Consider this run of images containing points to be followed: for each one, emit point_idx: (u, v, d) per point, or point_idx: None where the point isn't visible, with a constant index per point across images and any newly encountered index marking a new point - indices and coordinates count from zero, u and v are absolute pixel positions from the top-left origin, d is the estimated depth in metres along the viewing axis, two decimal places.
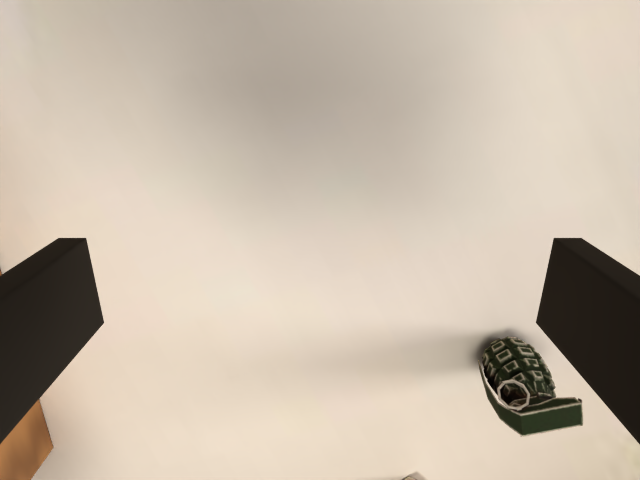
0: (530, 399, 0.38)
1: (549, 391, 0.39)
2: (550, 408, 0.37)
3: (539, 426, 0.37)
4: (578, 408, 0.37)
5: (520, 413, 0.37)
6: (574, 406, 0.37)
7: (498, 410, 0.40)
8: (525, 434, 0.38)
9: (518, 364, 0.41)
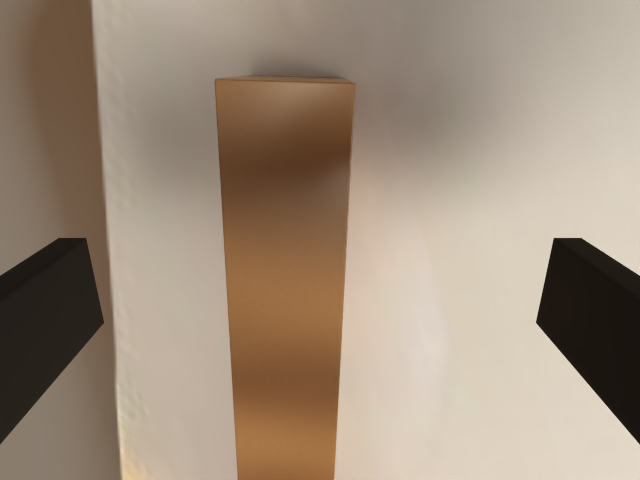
0: None
1: None
2: None
3: None
4: None
5: None
6: None
7: None
8: None
9: None
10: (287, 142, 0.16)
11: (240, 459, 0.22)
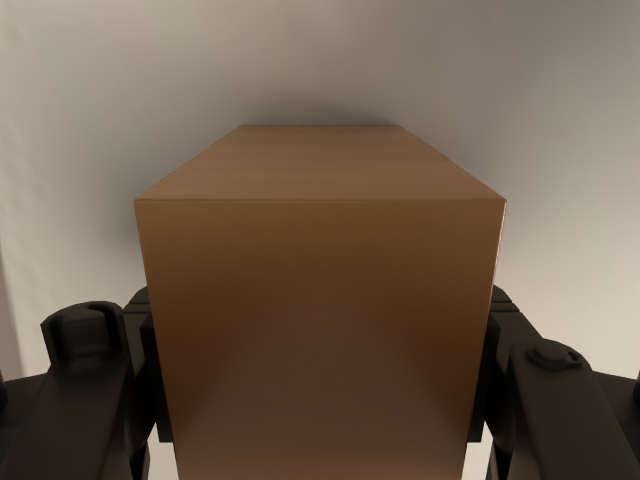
0: None
1: None
2: None
3: None
4: None
5: None
6: None
7: None
8: None
9: None
10: (326, 338, 0.07)
11: None
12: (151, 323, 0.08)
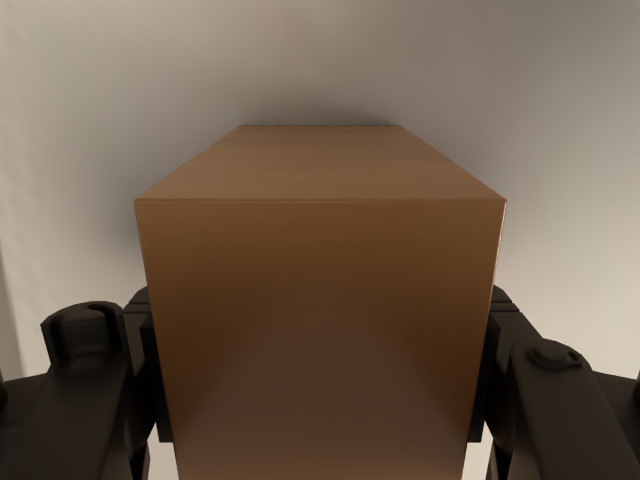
0: None
1: None
2: None
3: None
4: None
5: None
6: None
7: None
8: None
9: None
10: (326, 337, 0.07)
11: None
12: (151, 323, 0.08)
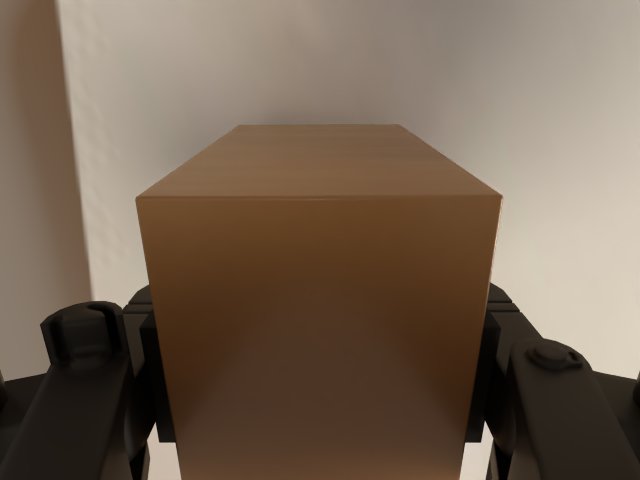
0: None
1: None
2: None
3: None
4: None
5: None
6: None
7: None
8: None
9: None
10: (326, 333, 0.07)
11: None
12: (151, 323, 0.08)
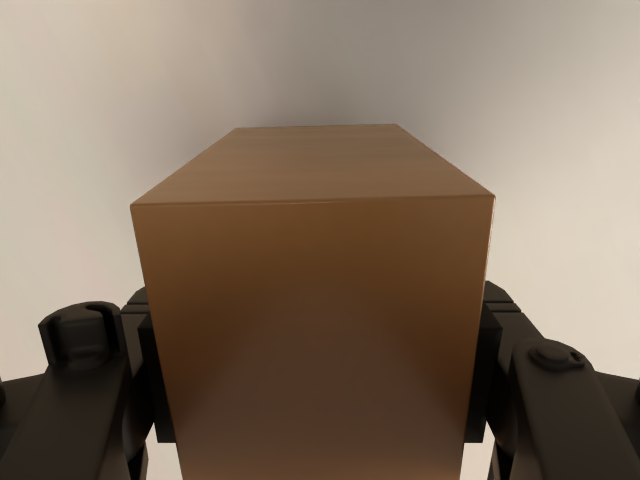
0: None
1: None
2: None
3: None
4: None
5: None
6: None
7: None
8: None
9: None
10: (323, 335, 0.07)
11: None
12: (149, 323, 0.08)
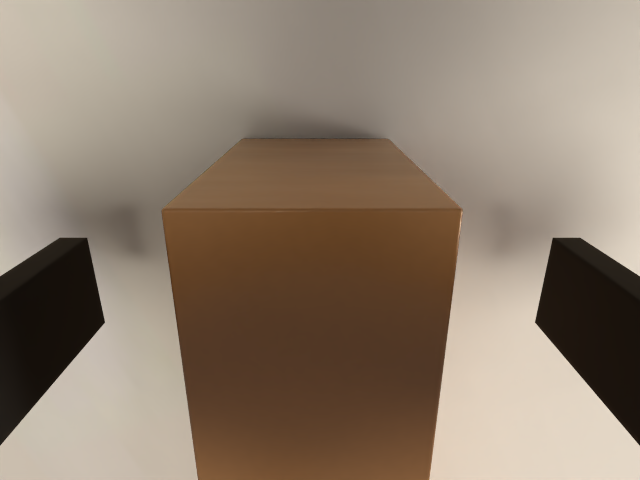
0: None
1: None
2: None
3: None
4: None
5: None
6: None
7: None
8: None
9: None
10: (318, 322, 0.08)
11: None
12: None
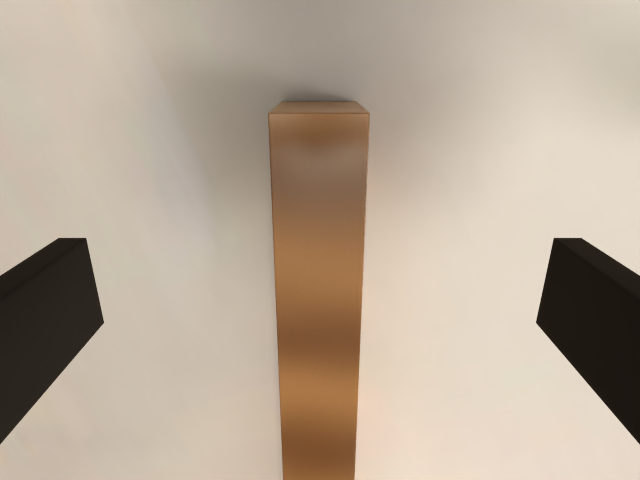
0: None
1: None
2: None
3: None
4: None
5: None
6: None
7: None
8: None
9: None
10: (320, 156, 0.22)
11: (283, 404, 0.28)
12: None
